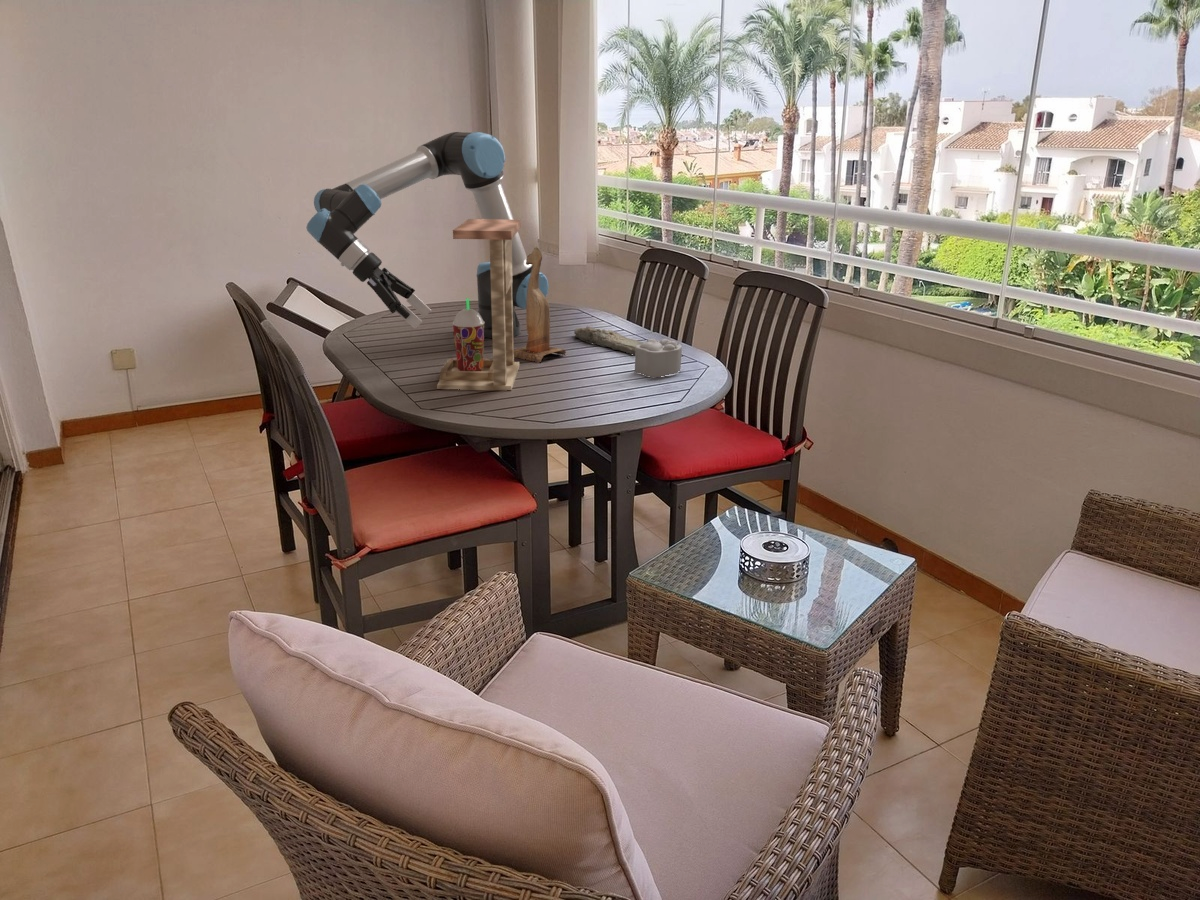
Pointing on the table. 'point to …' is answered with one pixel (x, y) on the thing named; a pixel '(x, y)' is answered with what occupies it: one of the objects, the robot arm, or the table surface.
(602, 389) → the table surface
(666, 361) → the lumpy-topped squat cylinder
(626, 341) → the long grey stone
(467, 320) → the smoothie
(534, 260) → the bird sculpture
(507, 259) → the wooden pedestal stand
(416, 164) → the robot arm
